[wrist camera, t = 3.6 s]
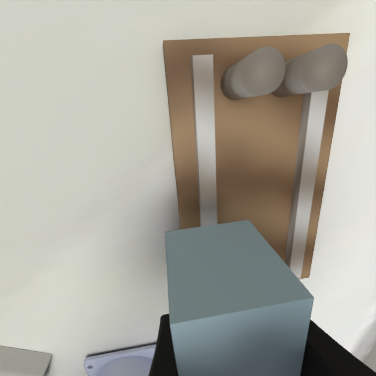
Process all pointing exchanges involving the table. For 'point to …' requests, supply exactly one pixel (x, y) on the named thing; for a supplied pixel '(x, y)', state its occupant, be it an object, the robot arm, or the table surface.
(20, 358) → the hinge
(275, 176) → the boss board
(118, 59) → the table surface
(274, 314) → the panel block
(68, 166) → the table surface
